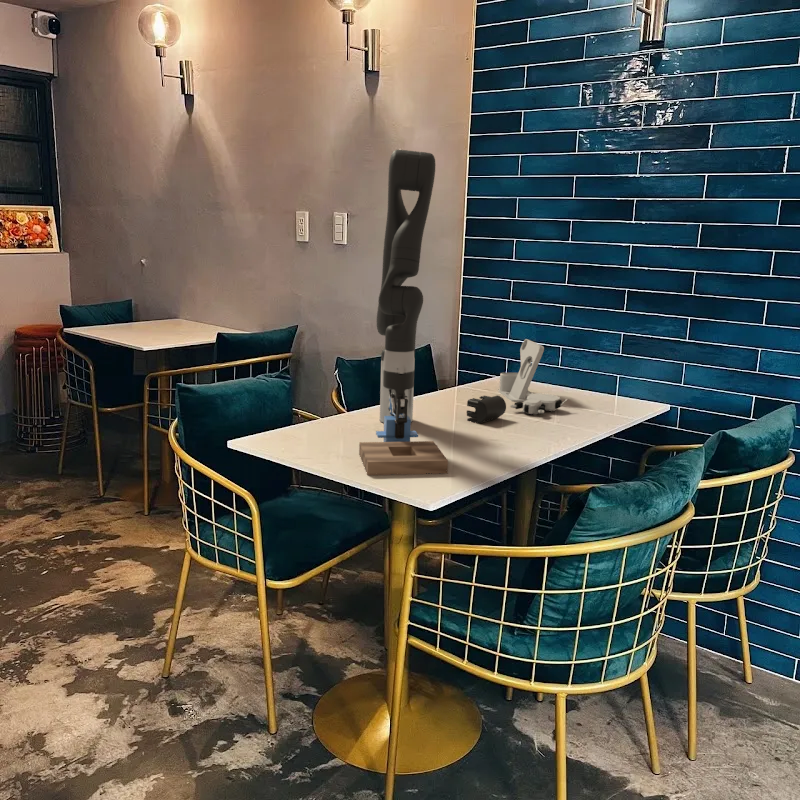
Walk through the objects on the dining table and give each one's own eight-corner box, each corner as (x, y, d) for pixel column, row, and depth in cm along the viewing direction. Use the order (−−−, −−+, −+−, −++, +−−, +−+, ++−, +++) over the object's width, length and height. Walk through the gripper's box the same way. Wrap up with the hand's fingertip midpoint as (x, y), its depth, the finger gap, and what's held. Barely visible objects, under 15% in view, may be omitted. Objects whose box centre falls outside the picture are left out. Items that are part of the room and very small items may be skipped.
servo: (377, 449, 195) (378, 416, 194) (375, 445, 199) (376, 412, 197) (417, 449, 197) (418, 416, 195) (414, 444, 201) (415, 412, 199)
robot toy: (543, 422, 232) (568, 410, 243) (543, 407, 231) (568, 396, 242) (507, 415, 239) (533, 404, 250) (507, 400, 238) (533, 390, 249)
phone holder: (496, 390, 269) (499, 337, 266) (525, 390, 271) (529, 338, 267) (512, 402, 253) (515, 346, 249) (542, 402, 254) (546, 346, 251)
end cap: (486, 425, 222) (487, 402, 221) (465, 421, 227) (466, 397, 225) (505, 419, 230) (507, 396, 228) (485, 415, 234) (486, 393, 233)
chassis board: (359, 454, 191) (359, 442, 190) (432, 453, 194) (433, 441, 193) (367, 475, 175) (367, 462, 175) (447, 473, 178) (447, 460, 178)
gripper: (379, 363, 200) (377, 427, 204) (388, 373, 186) (386, 442, 190) (409, 363, 201) (406, 426, 205) (419, 373, 188) (417, 441, 191)
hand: (396, 434), depth 197 cm, fingers open, 7 cm apart
